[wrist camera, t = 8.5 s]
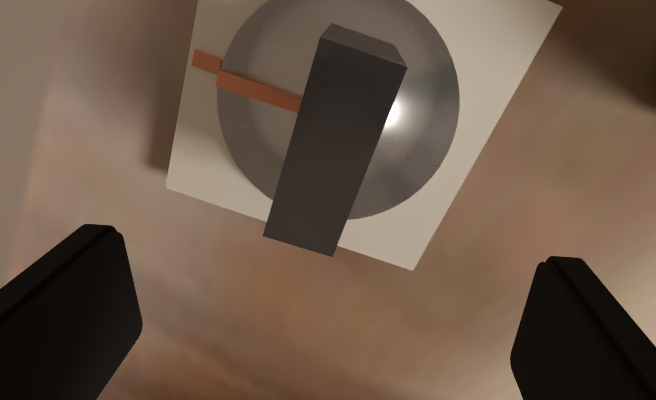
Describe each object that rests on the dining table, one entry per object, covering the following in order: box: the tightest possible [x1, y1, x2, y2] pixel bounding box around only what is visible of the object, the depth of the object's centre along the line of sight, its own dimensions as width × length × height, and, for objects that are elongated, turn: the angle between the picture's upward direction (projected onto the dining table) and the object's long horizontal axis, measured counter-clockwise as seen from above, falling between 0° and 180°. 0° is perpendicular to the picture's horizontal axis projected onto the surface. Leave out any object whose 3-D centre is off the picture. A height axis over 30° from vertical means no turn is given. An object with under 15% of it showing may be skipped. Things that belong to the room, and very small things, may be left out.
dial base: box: [165, 0, 563, 271], centre depth 22 cm, size 16×16×2 cm
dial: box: [216, 0, 460, 257], centre depth 18 cm, size 12×12×7 cm
